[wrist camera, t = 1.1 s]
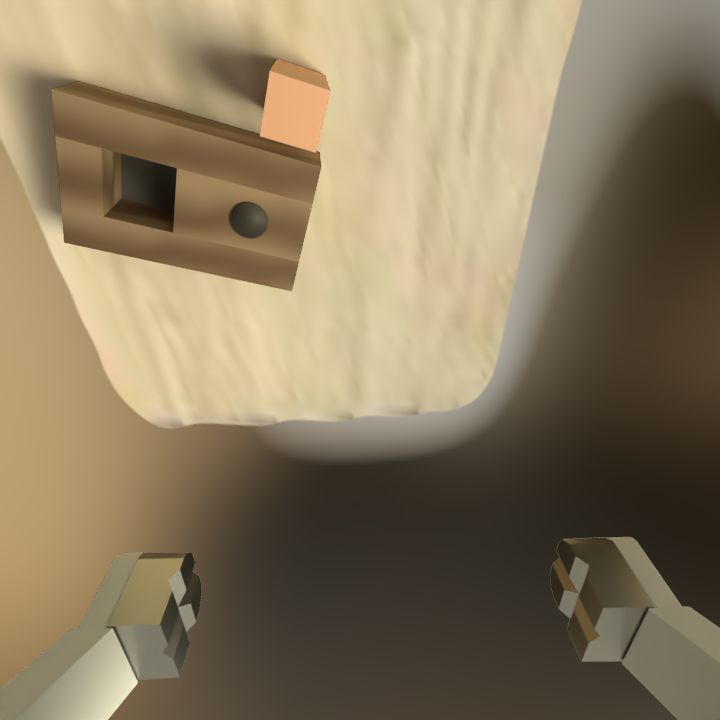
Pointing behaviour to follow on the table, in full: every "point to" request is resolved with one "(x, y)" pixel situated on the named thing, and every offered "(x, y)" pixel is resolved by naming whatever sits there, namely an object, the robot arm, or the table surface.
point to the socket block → (180, 187)
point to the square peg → (294, 105)
